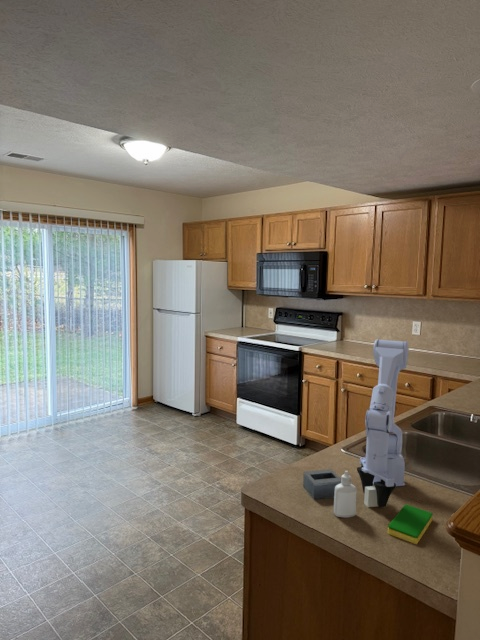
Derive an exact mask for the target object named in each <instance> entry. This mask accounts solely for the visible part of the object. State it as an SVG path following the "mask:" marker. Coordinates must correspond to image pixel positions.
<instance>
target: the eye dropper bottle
mask: <svg viewBox="0 0 480 640" xmlns="http://www.w3.org/2000/svg"><path fill="white" fill-rule="evenodd" d="M340 478H341V483H340V484H338V485H336V486H335V492H334V497H333V514H334V515H335V516H336V517H337V518H352V517H355V516H356V514H357V513H356V512H357V496H358V495H357V494H358V493H357V492H358V491H357V489H358V488H357V487H356V486H355V485H354V484H352V476H351V475H349V470H345V471H344V474H342V475H341V477H340Z"/></svg>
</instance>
